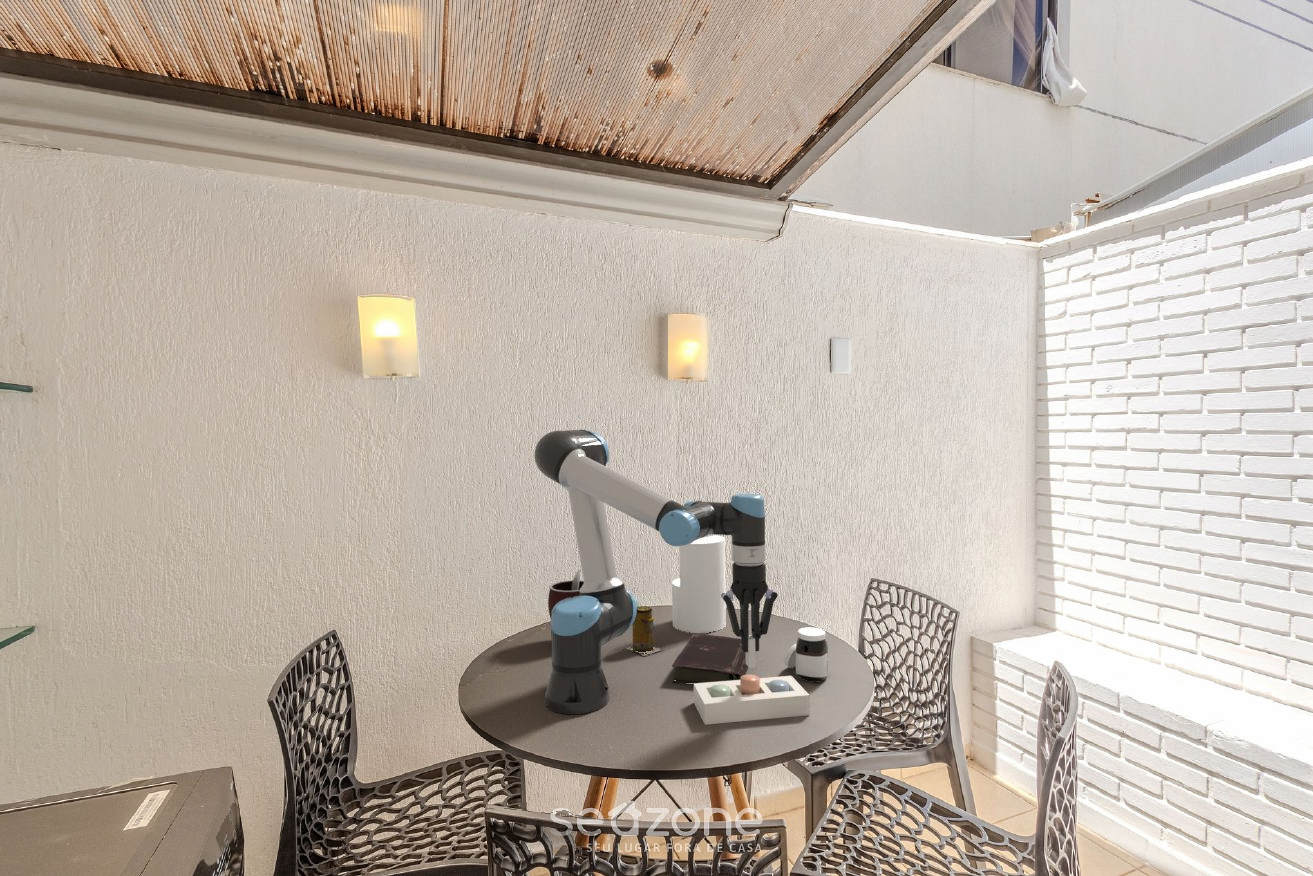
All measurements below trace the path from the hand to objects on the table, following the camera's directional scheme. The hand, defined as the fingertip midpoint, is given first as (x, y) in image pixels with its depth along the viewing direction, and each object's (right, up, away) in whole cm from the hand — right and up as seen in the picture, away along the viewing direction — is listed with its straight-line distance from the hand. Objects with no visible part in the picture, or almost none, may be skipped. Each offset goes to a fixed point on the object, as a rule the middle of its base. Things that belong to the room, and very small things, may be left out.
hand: (750, 665), depth 144 cm
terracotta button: (0, -6, 0) cm, 6 cm away
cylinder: (-8, -9, +61) cm, 62 cm away
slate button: (+7, -8, +1) cm, 11 cm away
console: (0, -10, 0) cm, 10 cm away
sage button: (-7, -8, -1) cm, 11 cm away
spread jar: (+17, -10, +20) cm, 28 cm away
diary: (-6, -10, +25) cm, 28 cm away
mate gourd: (-47, -10, +47) cm, 67 cm away
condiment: (-25, -10, +39) cm, 47 cm away
